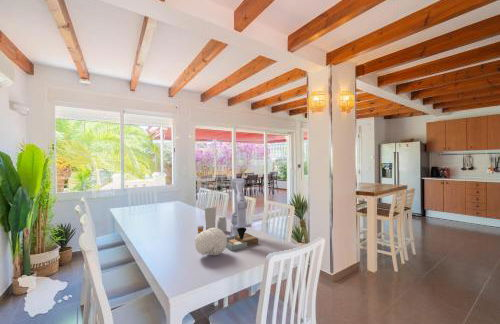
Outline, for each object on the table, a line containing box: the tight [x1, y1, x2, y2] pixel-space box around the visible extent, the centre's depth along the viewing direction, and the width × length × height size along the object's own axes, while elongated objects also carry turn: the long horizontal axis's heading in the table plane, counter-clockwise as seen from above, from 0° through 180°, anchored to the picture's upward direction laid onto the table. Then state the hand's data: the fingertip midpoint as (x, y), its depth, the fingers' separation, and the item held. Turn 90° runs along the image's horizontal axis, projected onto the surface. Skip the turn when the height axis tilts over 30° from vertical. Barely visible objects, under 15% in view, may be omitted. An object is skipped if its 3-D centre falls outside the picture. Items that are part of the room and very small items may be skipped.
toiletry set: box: [197, 206, 227, 235], centre depth 187 cm, size 25×8×21 cm, turn 128°
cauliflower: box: [194, 227, 227, 256], centre depth 142 cm, size 20×18×16 cm
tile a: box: [229, 239, 238, 245], centre depth 163 cm, size 4×4×2 cm
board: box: [235, 232, 259, 247], centre depth 167 cm, size 14×10×4 cm
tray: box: [225, 236, 248, 252], centre depth 160 cm, size 16×12×4 cm
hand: (241, 238), depth 160 cm, fingers closed
